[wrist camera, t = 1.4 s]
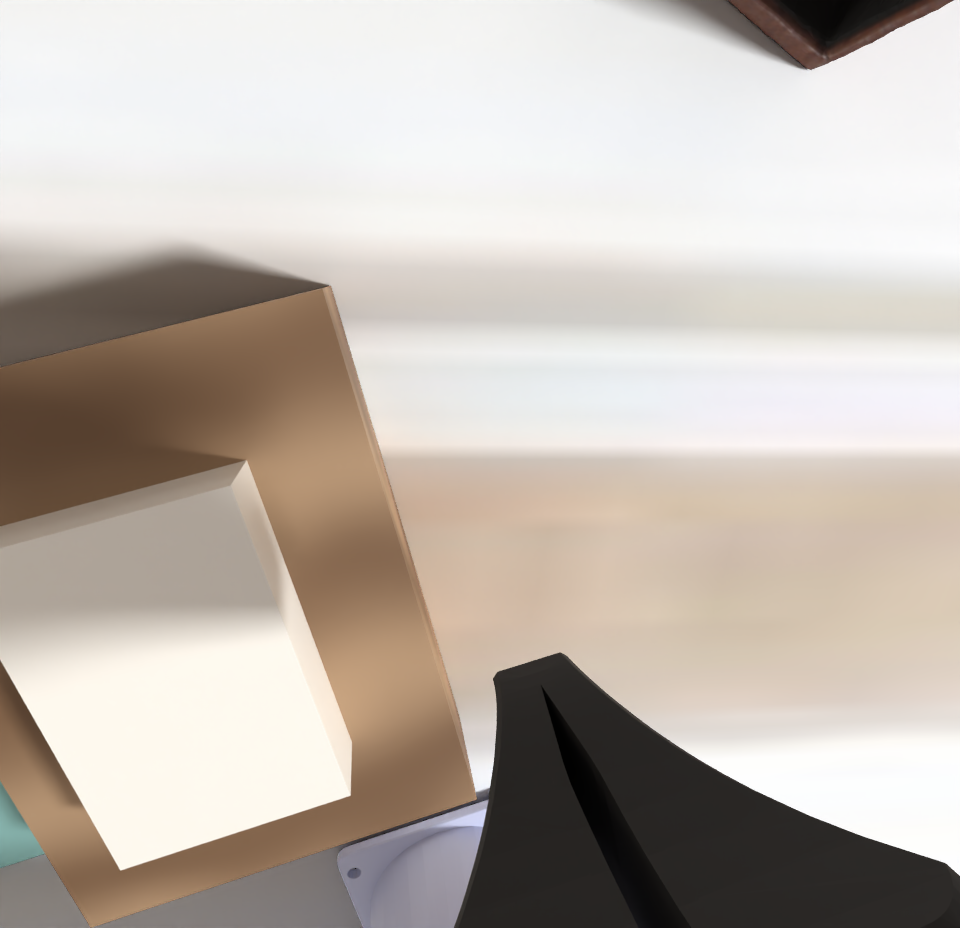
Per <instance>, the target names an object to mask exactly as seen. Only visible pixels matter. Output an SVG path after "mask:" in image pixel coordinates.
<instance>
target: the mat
mask: <svg viewBox="0 0 960 928" xmlns="http://www.w3.org/2000/svg"><path fill="white" fill-rule="evenodd" d="M43 854H45V853H44V851H43V849H42V848H41V846H40V845H39V843H38V841H37V840H36V838H35V837H34V835H33V833H32V832H31V830H30V828H29V827H28V825H27V824H26V822H25V820H24V819H23V817H22V815H21V814H20V812H19V811H18V809H17V807H16V806H15V804H14V802H13V801H12V799H11V798H10V796H9V794H8V793H7V791H6V789H5V788H4V786H3V785H2V783H1V781H0V868H2V867H5V866H8V865H11V864H15V863H18V862H21V861H24V860H27V859H30V858H33V857H37V856H40V855H43Z"/></svg>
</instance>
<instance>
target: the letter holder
mask: <svg viewBox="0 0 960 928" xmlns="http://www.w3.org/2000/svg"><path fill="white" fill-rule="evenodd" d="M728 1H729V2H730V3H731V4H733V5H734V6H735V7H737V8H738V9H739V11H740V12H741V13H742V14H745V16H746V17H747V18H748V19H749V20H750V21H752V22H753V23H754V24H756V25H757V26H758V27H759V28H760V29H761V30H762V31H763V32H764V34H766V35H767V36H769V37H771V38H772V39H773V40H774V41H775V42H776V43H777V44H779V45H780V46H781V47H782V48H783V49H784V50H785V51H786V52H787V53H788V54H790V55H791V56H792V57H793V58H794V59H796V60H797V61H798V62H799V63H801V64H802V65H803V66H804V67H806V68H807V69H810V70H812V69H814V68H817V67H820V66H822V65H825V64H828V63H829V62H831V61H834V60H836V59H838V58H841V57H844V56H846V55H847V54H849V53H851V52H853V51H855V50H857V49H859V48H861V47H863V46H865V45H868V44H870V43H873V42H874V41H875V40H877V39H879V38H882V37H884V36H885V35H887V34H888V33H890V32H892V31H894V30H895V29H897V28H899V27H902V26H905V25H906V24H908V23H910V22H912V21H914V20H916V19H919V18H921V17H923V16H925V15H927V14H929V13H931V12H933V11H936V10H938V9H940V8H941V7H943V6H945V5H946V4H948V3H950V2H952V1H953V0H728Z"/></svg>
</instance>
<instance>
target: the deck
mask: <svg viewBox="0 0 960 928" xmlns="http://www.w3.org/2000/svg"><path fill="white" fill-rule="evenodd" d="M245 460H247V462H248V465H249V468H250V470H251V473H252V476H253V478H254V481H255V484H256V486H257V489H258V492H259V494H260V497H261V500H262V502H263V505H264V508H265V511H266V513H267V516H268V519H269V521H270V524H271V527H272V529H273V532H274V535H275V537H276V540H277V543H278V545H279V548H280V551H281V553H282V556H283V559H284V562H285V564H286V567H287V570H288V572H289V575H290V578H291V580H292V583H293V586H294V588H295V591H296V594H297V596H298V599H299V602H300V604H301V607H302V610H303V612H304V615H305V618H306V621H307V623H308V626H309V629H310V631H311V634H312V637H313V639H314V642H315V645H316V647H317V650H318V653H319V655H320V658H321V661H322V663H323V666H324V669H325V671H326V674H327V677H328V680H329V682H330V685H331V688H332V690H333V693H334V696H335V698H336V701H337V704H338V706H339V709H340V712H341V714H342V717H343V720H344V722H345V725H346V728H347V731H348V733H349V736H350V739H351V741H352V762H351V796H348V797H345V798H342V799H339V800H336V801H333V802H330V803H327V804H324V805H320V806H317V807H314V808H311V809H308V810H305V811H302V812H299V813H296V814H293V815H290V816H287V817H284V818H280V819H277V820H274V821H271V822H268V823H265V824H262V825H259V826H256V827H253V828H250V829H247V830H244V831H241V832H237V833H234V834H231V835H228V836H225V837H222V838H219V839H216V840H213V841H210V842H207V843H204V844H201V845H197V846H194V847H191V848H188V849H185V850H182V851H179V852H176V853H173V854H170V855H167V856H164V857H161V858H158V859H154V860H151V861H148V862H145V863H142V864H139V865H136V866H133V867H130V868H127V869H124V870H121V871H120V869H119V867H118V865H117V864H116V862H115V860H114V858H113V857H112V855H111V853H110V851H109V850H108V848H107V846H106V844H105V843H104V841H103V839H102V837H101V836H100V834H99V832H98V830H97V829H96V827H95V825H94V823H93V822H92V820H91V818H90V816H89V815H88V813H87V811H86V809H85V808H84V806H83V804H82V802H81V801H80V799H79V797H78V795H77V794H76V792H75V790H74V788H73V787H72V785H71V783H70V781H69V780H68V778H67V776H66V774H65V773H64V771H63V769H62V767H61V766H60V764H59V762H58V760H57V758H56V757H55V755H54V753H53V751H52V750H51V748H50V746H49V744H48V743H47V741H46V739H45V737H44V736H43V734H42V732H41V730H40V729H39V727H38V725H37V723H36V722H35V720H34V718H33V716H32V715H31V713H30V711H29V709H28V708H27V706H26V704H25V702H24V701H23V699H22V697H21V695H20V694H19V692H18V690H17V688H16V687H15V685H14V683H13V681H12V680H11V678H10V676H9V674H8V673H7V671H6V669H5V667H4V666H3V664H2V662H1V660H0V781H1V783H2V785H3V786H4V788H5V789H6V791H7V793H8V794H9V796H10V798H11V799H12V801H13V802H14V804H15V806H16V807H17V809H18V811H19V812H20V814H21V815H22V817H23V819H24V820H25V822H26V824H27V825H28V827H29V828H30V830H31V832H32V833H33V835H34V837H35V838H36V840H37V841H38V843H39V845H40V846H41V848H42V849H43V851H44V853H45V854H46V856H47V858H48V859H49V861H50V862H51V864H52V866H53V867H54V869H55V871H56V872H57V874H58V875H59V877H60V879H61V880H62V882H63V884H64V885H65V887H66V888H67V890H68V892H69V893H70V895H71V897H72V898H73V900H74V901H75V903H76V905H77V906H78V908H79V910H80V911H81V913H82V914H83V916H84V918H85V919H86V921H87V923H88V924H89V926H90V927H91V928H92V927H95V926H98V925H101V924H104V923H107V922H110V921H113V920H116V919H119V918H122V917H125V916H128V915H131V914H134V913H137V912H140V911H143V910H146V909H149V908H152V907H155V906H158V905H161V904H164V903H167V902H170V901H173V900H176V899H179V898H182V897H185V896H188V895H191V894H194V893H197V892H200V891H203V890H206V889H209V888H212V887H215V886H218V885H221V884H224V883H227V882H230V881H233V880H236V879H239V878H242V877H245V876H248V875H251V874H254V873H257V872H260V871H263V870H266V869H269V868H272V867H275V866H278V865H281V864H284V863H287V862H291V861H294V860H297V859H300V858H303V857H306V856H309V855H312V854H315V853H318V852H321V851H324V850H327V849H330V848H333V847H336V846H339V845H342V844H345V843H348V842H351V841H354V840H357V839H360V838H363V837H366V836H369V835H372V834H375V833H378V832H381V831H384V830H387V829H390V828H393V827H396V826H399V825H402V824H405V823H408V822H411V821H414V820H417V819H420V818H423V817H426V816H429V815H432V814H435V813H438V812H441V811H444V810H447V809H450V808H453V807H456V806H459V805H462V804H465V803H468V802H471V801H474V800H477V797H476V792H475V788H474V783H473V778H472V774H471V769H470V764H469V760H468V755H467V750H466V746H465V741H464V736H463V732H462V727H461V722H460V718H459V714H458V711H457V707H456V704H455V701H454V697H453V694H452V690H451V687H450V684H449V680H448V677H447V674H446V670H445V667H444V664H443V660H442V657H441V654H440V650H439V647H438V644H437V640H436V637H435V633H434V630H433V627H432V623H431V620H430V617H429V613H428V610H427V607H426V603H425V600H424V597H423V593H422V590H421V587H420V583H419V580H418V576H417V573H416V570H415V566H414V563H413V560H412V556H411V553H410V550H409V546H408V543H407V540H406V536H405V533H404V529H403V526H402V523H401V519H400V516H399V513H398V509H397V506H396V503H395V499H394V496H393V493H392V489H391V486H390V483H389V479H388V476H387V472H386V469H385V466H384V462H383V459H382V456H381V452H380V449H379V446H378V442H377V439H376V436H375V432H374V429H373V426H372V422H371V419H370V415H369V412H368V409H367V405H366V402H365V399H364V395H363V392H362V389H361V385H360V382H359V379H358V375H357V372H356V369H355V365H354V362H353V358H352V355H351V352H350V348H349V345H348V342H347V338H346V335H345V332H344V328H343V325H342V322H341V318H340V315H339V312H338V308H337V305H336V301H335V298H334V295H333V291H332V288H331V286H327V287H323V288H319V289H315V290H311V291H307V292H303V293H299V294H295V295H291V296H287V297H283V298H279V299H275V300H271V301H266V302H262V303H258V304H254V305H250V306H246V307H242V308H238V309H234V310H230V311H226V312H222V313H218V314H214V315H210V316H206V317H201V318H197V319H193V320H189V321H185V322H181V323H177V324H173V325H169V326H165V327H161V328H157V329H153V330H149V331H145V332H140V333H136V334H132V335H128V336H124V337H120V338H116V339H112V340H108V341H104V342H100V343H96V344H92V345H88V346H84V347H80V348H75V349H71V350H67V351H63V352H59V353H55V354H51V355H47V356H43V357H39V358H35V359H31V360H27V361H23V362H19V363H15V364H10V365H6V366H2V367H0V526H4V525H7V524H11V523H15V522H19V521H22V520H26V519H30V518H33V517H37V516H41V515H45V514H48V513H52V512H56V511H59V510H63V509H67V508H71V507H74V506H78V505H82V504H85V503H89V502H93V501H97V500H100V499H104V498H108V497H111V496H115V495H119V494H123V493H126V492H130V491H134V490H137V489H141V488H145V487H149V486H152V485H156V484H160V483H163V482H167V481H171V480H175V479H178V478H182V477H186V476H189V475H193V474H197V473H201V472H204V471H208V470H212V469H215V468H219V467H223V466H227V465H230V464H234V463H238V462H241V461H245Z"/></svg>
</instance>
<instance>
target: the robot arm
mask: <svg viewBox="0 0 960 928" xmlns="http://www.w3.org/2000/svg"><path fill="white" fill-rule="evenodd" d="M493 681H494V685H495V691H496V701H497V729H496V743H495V757H494V766H493V772H492V779H491V786H490V792H489V799H488V800H485V801H482V802H479V803H476V804H473V805H470V806H467V807H464V808H461V809H458V810H455V811H452V812H449V813H446V814H443V815H440V816H437V817H434V818H431V819H428V820H425V821H422V822H419V823H416V824H413V825H410V826H407V827H404V828H401V829H398V830H395V831H392V832H389V833H386V834H383V835H380V836H377V837H374V838H371V839H368V840H365V841H362V842H359V843H356V844H353V845H350V846H347V847H345V848H343V849H342V850H341V851H340V852H339V854H338V857H337V866H338V869H339V872H340V874H341V876H342V879H343V881H344V884H345V886H346V888H347V891H348V893H349V896H350V898H351V900H352V903H353V905H354V908H355V910H356V912H357V915H358V917H359V920H360V922H361V924H362V927H363V928H960V876H959V875H958V874H957V873H956V872H955V871H953V870H952V869H951V868H950V867H949V866H948V865H947V864H945V863H943V862H940V861H937V860H934V859H931V858H928V857H924V856H921V855H918V854H915V853H912V852H909V851H906V850H903V849H900V848H897V847H893V846H890V845H887V844H884V843H881V842H878V841H875V840H872V839H869V838H866V837H863V836H860V835H857V834H855V833H852V832H849V831H847V830H844V829H842V828H839V827H837V826H834V825H831V824H829V823H826V822H824V821H821V820H819V819H816V818H814V817H811V816H809V815H806V814H804V813H802V812H800V811H798V810H795V809H793V808H791V807H789V806H787V805H785V804H782V803H780V802H778V801H776V800H774V799H772V798H769V797H767V796H765V795H763V794H761V793H759V792H756V791H754V790H752V789H750V788H749V787H747V786H745V785H743V784H741V783H739V782H737V781H735V780H734V779H732V778H730V777H728V776H726V775H724V774H722V773H721V772H719V771H717V770H716V769H714V768H712V767H710V766H709V765H707V764H705V763H704V762H702V761H700V760H698V759H697V758H695V757H694V756H692V755H690V754H689V753H687V752H686V751H684V750H683V749H681V748H680V747H678V746H676V745H675V744H673V743H672V742H671V741H669V740H668V739H666V738H665V737H663V736H662V735H660V734H659V733H657V732H656V731H655V730H653V729H652V728H650V727H649V726H648V725H646V724H645V723H644V722H642V721H641V720H639V719H638V718H637V717H636V716H634V715H633V714H632V713H631V712H629V711H628V710H627V709H625V708H624V707H623V706H622V705H620V704H619V703H618V702H617V701H615V700H614V699H613V698H612V697H610V696H609V695H608V694H607V693H606V692H604V691H603V690H602V689H601V688H600V687H599V686H598V685H596V684H595V683H594V682H593V681H592V680H591V679H590V678H589V677H588V676H586V675H585V674H584V673H583V672H582V671H581V670H580V669H579V668H578V667H577V666H576V665H575V664H574V663H573V662H572V661H571V660H570V659H569V658H568V657H567V656H566V655H564V654H562V653H557V654H554V655H550V656H547V657H544V658H541V659H538V660H534V661H531V662H528V663H525V664H522V665H518V666H515V667H512V668H509V669H506V670H502V671H499V672H497V674H496V675H495V677H494V678H493ZM352 868H358V869H354V870H352Z"/></svg>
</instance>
